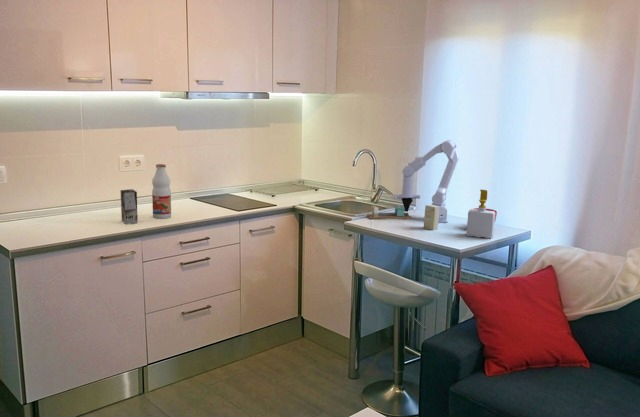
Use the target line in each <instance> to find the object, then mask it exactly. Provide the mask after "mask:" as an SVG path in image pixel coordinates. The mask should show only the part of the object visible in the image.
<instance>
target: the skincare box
mask: <svg viewBox="0 0 640 417" xmlns="http://www.w3.org/2000/svg"><path fill="white" fill-rule="evenodd" d="M424 206H425V208H424V216H423V217H424V219H423V229H425V230H429V231H435V230H438V228H439V222H438V219H439V209H440V206H435V205H432V204H425V205H424Z"/></svg>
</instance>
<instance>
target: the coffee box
mask: <svg viewBox="0 0 640 417" xmlns="http://www.w3.org/2000/svg"><path fill="white" fill-rule="evenodd" d="M120 210H121V212H120V213H121V222H122V223H123V224H125V225H133V224H138V218H139V217H138V191H136V190H135V189H132V188H131V189H120Z"/></svg>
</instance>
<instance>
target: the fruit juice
mask: <svg viewBox="0 0 640 417" xmlns="http://www.w3.org/2000/svg"><path fill="white" fill-rule="evenodd" d="M155 168H156V171H155V173H154V176H153V178H152V179H151V180H152V181H151V183H152V184H151V185H152V187H153V188H152V191H151V194H152V195H151V196H152V199H151V200H152V202H151V203H152V217H153V219H158V220H159V219H160V220H162V219H163V220H164V219H170V218H171V217H172V191H171V188H170V186H171V179H170V177H169V176H168V174H167V171H166V168H167V166H166V164H164V163H163V164H162V163H161V164H160V163H159V164H155Z"/></svg>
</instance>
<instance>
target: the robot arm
mask: <svg viewBox="0 0 640 417" xmlns="http://www.w3.org/2000/svg"><path fill="white" fill-rule="evenodd" d="M441 153H443V154H444V155H445V156H446V157H447V159H448V161H447V162H446V163H447V164H446V166H445V168H444V172H443V174H442V177H441V179H440V182H439V185H438V187H437V190H436V191H435V193H434V194H433V195H432V197H431V201H432V203H431V205H435V206H440V209H439V219H438V223H448V222H449V221H448V220H447V216H448V210H447V208H446V203H445V201H446V200H447V192H448V188H449V184H450V183H451V180H452V177H453V175H454V172H455V169H456V166H457V164H458V162H459V158H460V157H459V153H458V146H457V145H456V143H455V142H454V141H453V140H452V139H448V140H445V141H443V142H441V143H439V144H437V145H436V146H434V147H433V148H432V149H431V150H428V152H427V153H425V155H423V156H418V157H417V156H416V157H415V158H414V160H412V161H411V162H408V163H407V165H406V166H404V168H402V175H403V177H402V189H401V190H402V191H401V194H393V199H396V200H397V199H399V200H400V199H401V202H402V206H403V207H404V208H405V212H404V213H409V209H410V206H411V204H412V202H413V200H414V199H418V200H420V199H421V195H420V194H413V193H414V174H415V173H417V172H418V171H419V170H420V169H422V168H423V167H425V166H426V163H427V161H429V160H430V159H431V158H433V157H434V156H436V155H438V154H441Z"/></svg>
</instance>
